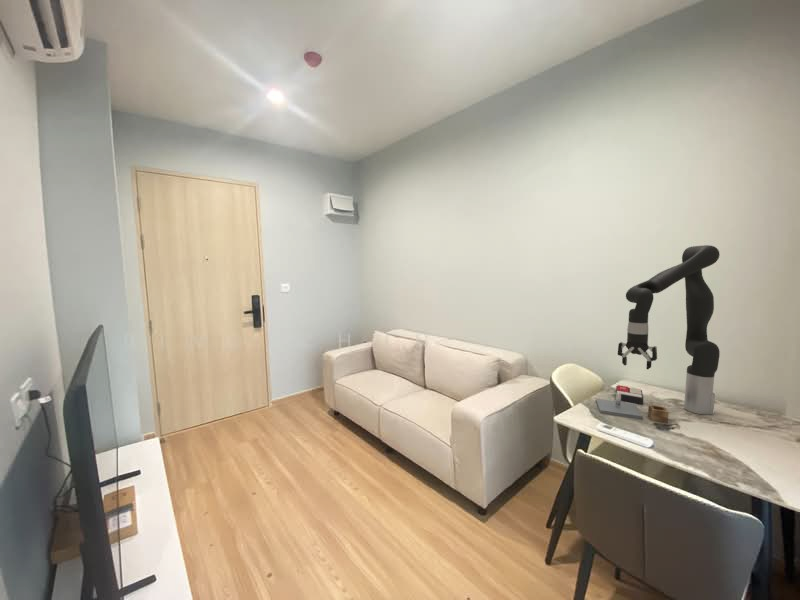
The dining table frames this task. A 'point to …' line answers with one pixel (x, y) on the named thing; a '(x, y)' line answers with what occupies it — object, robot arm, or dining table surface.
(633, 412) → the board
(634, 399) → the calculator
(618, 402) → the post
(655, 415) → the brown boxy piece
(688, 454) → the dining table surface
